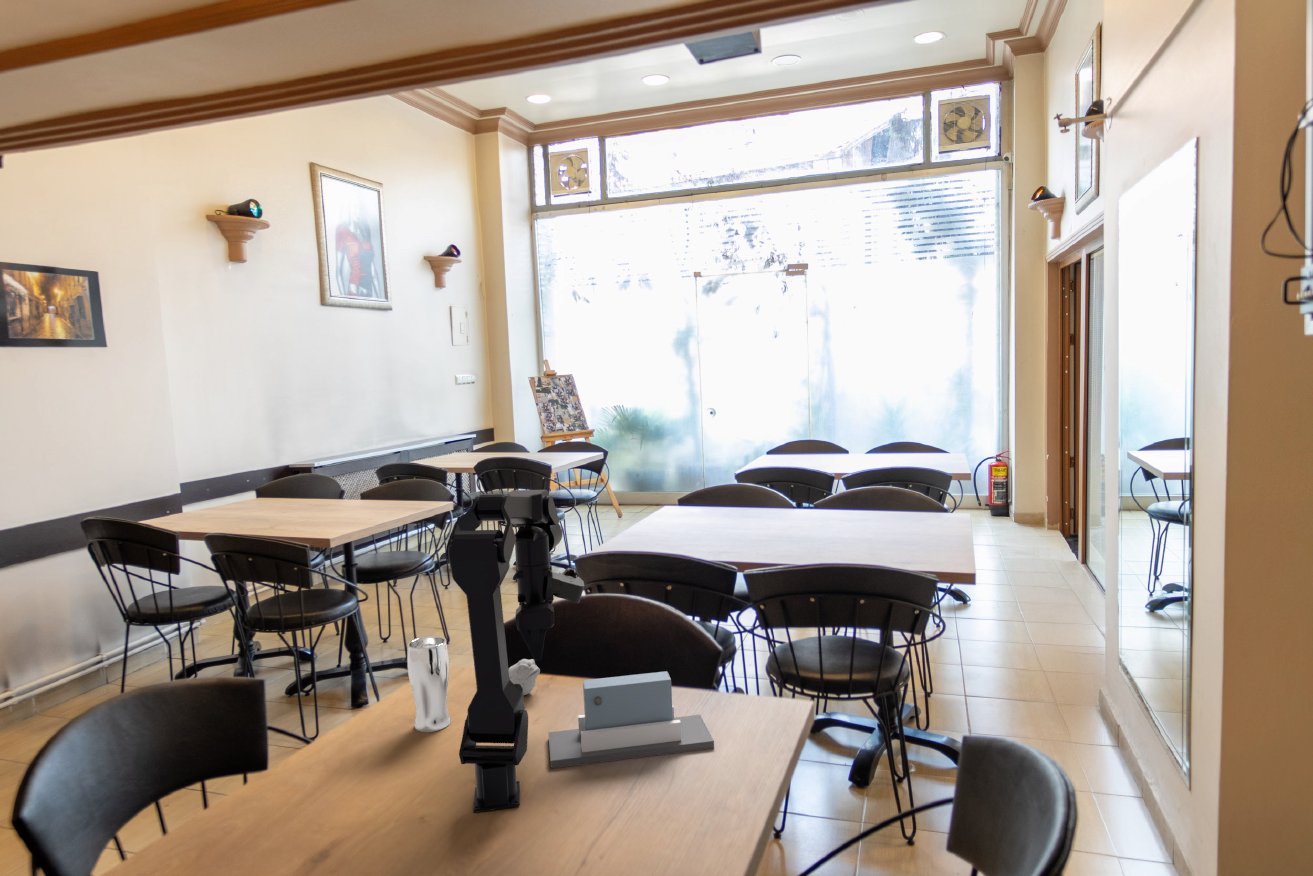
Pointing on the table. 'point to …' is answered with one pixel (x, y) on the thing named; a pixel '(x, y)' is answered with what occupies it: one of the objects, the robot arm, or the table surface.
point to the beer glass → (429, 682)
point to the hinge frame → (628, 741)
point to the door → (627, 700)
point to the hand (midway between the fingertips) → (538, 650)
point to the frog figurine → (524, 674)
